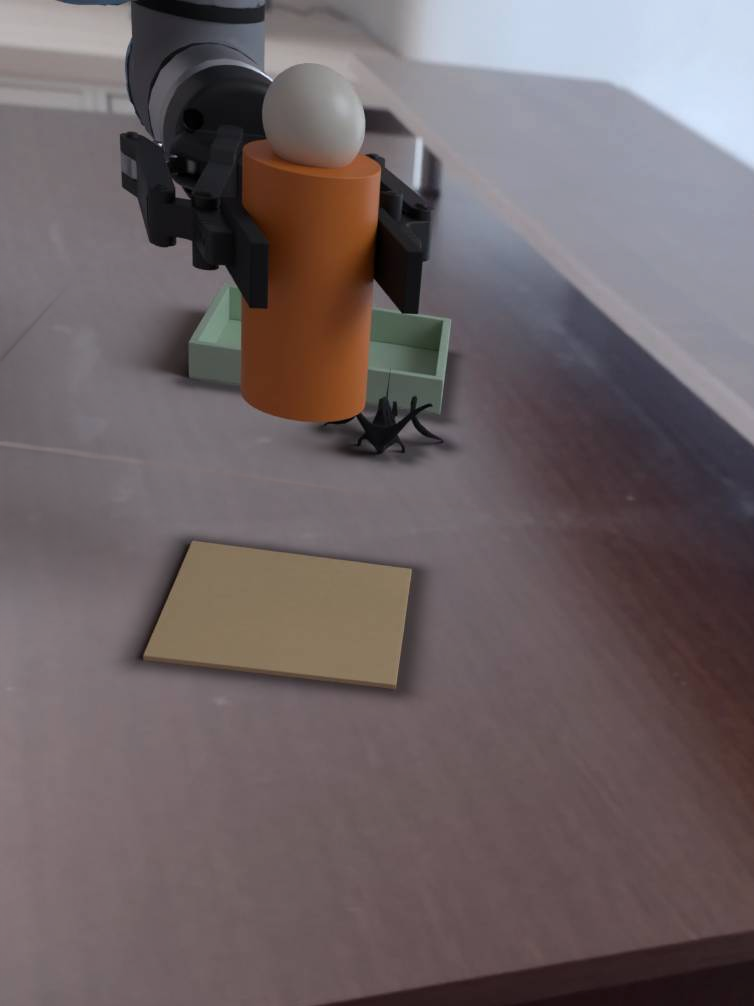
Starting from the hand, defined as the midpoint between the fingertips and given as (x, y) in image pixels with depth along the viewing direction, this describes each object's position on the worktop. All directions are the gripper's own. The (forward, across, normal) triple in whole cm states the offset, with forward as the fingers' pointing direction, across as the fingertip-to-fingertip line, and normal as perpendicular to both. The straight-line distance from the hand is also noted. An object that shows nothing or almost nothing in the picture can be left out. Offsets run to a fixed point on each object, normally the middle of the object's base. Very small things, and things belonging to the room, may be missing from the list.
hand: (337, 279), depth 57 cm
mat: (-2, +1, -18) cm, 18 cm away
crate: (-36, -9, -18) cm, 41 cm away
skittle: (-5, 0, -7) cm, 9 cm away
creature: (-23, -10, -18) cm, 31 cm away
